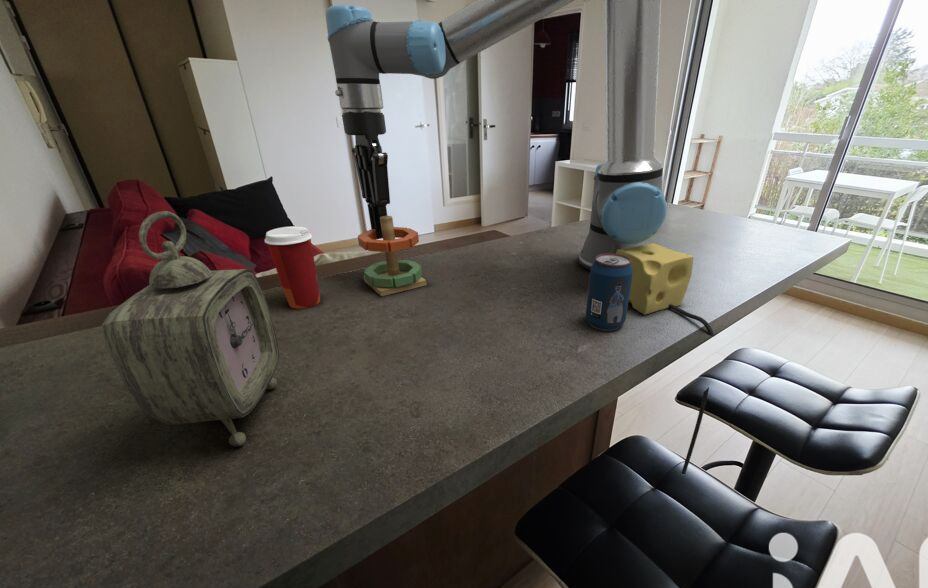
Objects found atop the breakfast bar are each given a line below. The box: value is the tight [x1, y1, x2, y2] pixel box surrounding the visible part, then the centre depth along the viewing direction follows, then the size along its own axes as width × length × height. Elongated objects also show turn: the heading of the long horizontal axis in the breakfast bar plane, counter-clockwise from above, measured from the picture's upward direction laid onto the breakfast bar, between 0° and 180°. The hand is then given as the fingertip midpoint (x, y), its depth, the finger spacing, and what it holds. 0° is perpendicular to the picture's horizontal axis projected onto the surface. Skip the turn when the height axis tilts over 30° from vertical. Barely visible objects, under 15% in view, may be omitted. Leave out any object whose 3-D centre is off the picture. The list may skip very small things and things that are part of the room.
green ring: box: [363, 259, 423, 287], centre depth 88 cm, size 11×11×2 cm
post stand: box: [363, 215, 427, 297], centre depth 86 cm, size 10×10×14 cm
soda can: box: [585, 253, 633, 332], centre depth 71 cm, size 7×7×12 cm
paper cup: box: [264, 225, 321, 310], centre depth 77 cm, size 8×8×14 cm
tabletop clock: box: [101, 210, 280, 448], centre depth 45 cm, size 14×9×25 cm, turn 9°
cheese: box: [616, 242, 694, 316], centre depth 80 cm, size 10×11×10 cm
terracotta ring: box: [357, 226, 420, 253], centre depth 84 cm, size 11×11×2 cm
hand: (381, 235), depth 88 cm, fingers closed on terracotta ring, 2 cm apart
